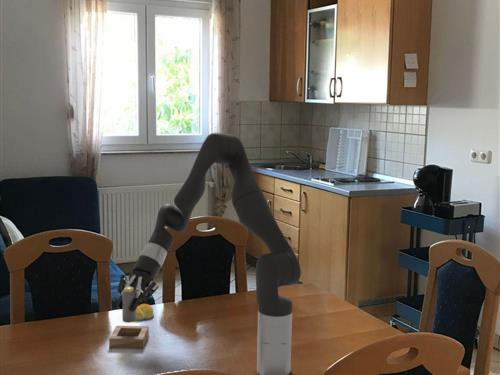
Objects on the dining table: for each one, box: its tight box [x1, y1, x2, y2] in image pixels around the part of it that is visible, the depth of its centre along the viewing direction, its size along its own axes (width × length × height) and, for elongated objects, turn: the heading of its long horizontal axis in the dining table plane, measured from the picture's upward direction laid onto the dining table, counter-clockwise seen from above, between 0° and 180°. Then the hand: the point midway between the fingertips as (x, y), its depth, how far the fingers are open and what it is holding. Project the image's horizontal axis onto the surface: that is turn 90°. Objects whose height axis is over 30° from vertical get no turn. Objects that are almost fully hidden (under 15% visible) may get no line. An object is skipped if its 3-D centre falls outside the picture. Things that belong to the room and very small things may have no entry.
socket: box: [108, 325, 150, 350], centre depth 180 cm, size 10×10×3 cm
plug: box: [121, 287, 137, 324], centre depth 178 cm, size 4×4×10 cm
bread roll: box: [136, 303, 155, 321], centre depth 201 cm, size 8×9×4 cm
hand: (124, 309), depth 177 cm, fingers closed on plug, 4 cm apart
